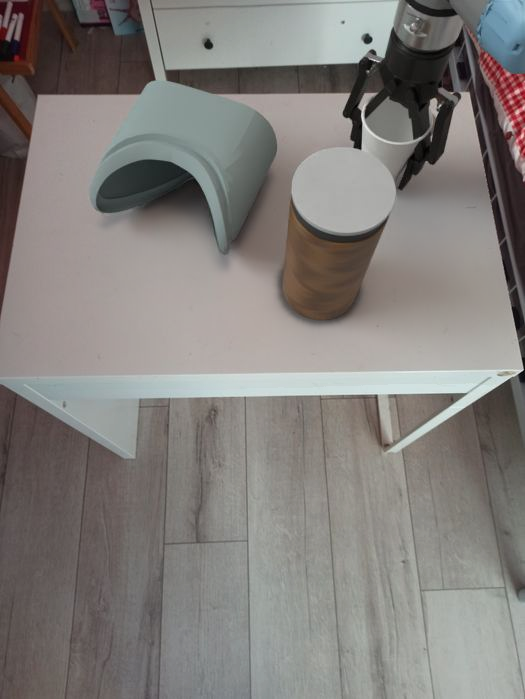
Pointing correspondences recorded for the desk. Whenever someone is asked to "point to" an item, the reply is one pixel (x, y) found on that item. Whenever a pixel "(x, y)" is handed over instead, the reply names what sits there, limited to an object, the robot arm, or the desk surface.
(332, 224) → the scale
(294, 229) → the plinth
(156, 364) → the desk surface
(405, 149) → the cup
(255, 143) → the sage-green arched shell
